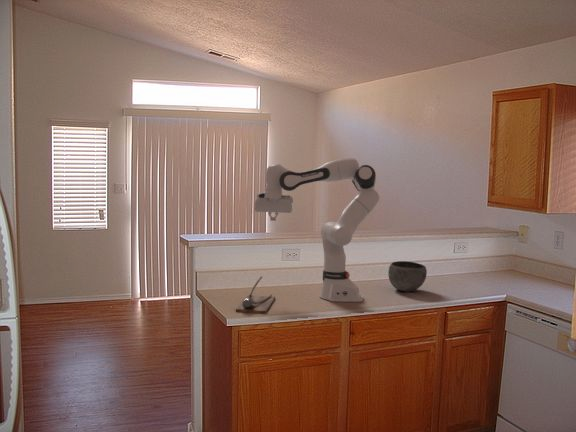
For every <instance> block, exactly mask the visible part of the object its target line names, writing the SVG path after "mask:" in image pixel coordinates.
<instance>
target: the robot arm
mask: <svg viewBox="0 0 576 432" xmlns="http://www.w3.org/2000/svg"><path fill="white" fill-rule="evenodd" d="M265 171H266V172H265V185H266V187H265V191H262V192H259V193H258V194H256V197H257V198H256V199H255V203H254V209H253V210H254V211H255V212H256V213H258V212H259V213H267V214H268V216H269V220H270V222H274V221H276V222H277V217H278V215H279V213H280V214H281V213H283V214H287V213H288V214H289V213H292V212H293V203H294V198H293V196H291V195H288V194H287V195H285V194H283V190H285V191H287V192H292V191H294V190H295V189H297V188H299V187H300V186H302V185H306V184H309V183H311V184H312V183H314V182H315V183H316V182H337V181H343V180H351V182H352V185H354V188H355V189H356V190H357V191H358V194H356V196H355V197H354V198H353V199H352V200H351V201H350V202H349V203H348V204H347V205H346V206H345V207H344V209H343V210H342V213H341V215H340V217H339V218H338V220H337V221H327V222H325V223H324V224H323V225H322V226H321V228H320V235H321V238H322V247H323V248H322V249H323V258H324V259H323V260H324V261H323V270H322V287H321V291H320V293H319V297H320V298H321V299H324V300H327V301H329V302H345V303H346V302H347V303H351V302H352V303H360V302H363V301H364V296H363V295H362V294H361V293H360V289H359V286H358V284H356V283H355V282H354V281H352V279H350V272H349V271H347V270H346V259H347V258H346V257H347V256H346V252H345V248H344V246H347V245H349V244H350V242H352V239H353V235H354V233H355V232H356V230H357V229H358V227H359V225H360V224H361V223H363V221H364V220H365V219H366V218H367V216H369V214H370V213H371V212H372V211H373V210H374V208H375V207H376V206H377V204H378V202H379V200H380V195H379V193H378V191H376V189H375V185H376V181H377V177H376V176H377V175H376V170H375V168H373V166H371V165H370V164H369V165H368V164H363V165H360V163H359V162H358V160H357V159H355V158H352V157H348V158H338V159H334V160H331V161H328V162H326V163H323V164H322V165H320V166H319V167H316V168H314V169H310V170H305V171H301V172H296V171H293V170H290V169H288V168H286V167H285V166H283V165H282V164H280V163H279V164H273V165H269V166H268V167H267V168H266V170H265ZM273 213H274V215H275V216H273V215H272V214H273Z"/></svg>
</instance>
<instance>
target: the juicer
mask: <svg viewBox="0 0 576 432" xmlns="http://www.w3.org/2000/svg"><path fill="white" fill-rule="evenodd" d="M262 279H263V276H260V277H259V278H258V280H257V281H256V282H255V283H254V286H253V287H252V289H251V291H250V293H249V296H248V295H247V296H248V297H247V296H246V297H247V298H246V297H245V298H244V299H243V300H242V302H241V303H242V306H243V307H244V308H245V309H249V308H251V307H252V305H253V303H254V304H255V305H256V304H259V303H262V302H264V301H266V300H267V299H269V298H270V297H273V294H270V295H268V297H267V298H265V299H264V300H261V301H259V302H255V301H254V299H253V297H252V295H253V292H254V290H255V289H256V287H257V285H258V284H259V283H260V281H261V280H262Z"/></svg>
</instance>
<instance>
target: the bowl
mask: <svg viewBox="0 0 576 432" xmlns="http://www.w3.org/2000/svg"><path fill="white" fill-rule="evenodd" d="M427 273H428V272H427V267H426V266H425V265H423V264H421V263H417V262H414V261H406V260H405V261H403V260H400V261H393V262H391V263H390V265H389V267H388V280H389V282H390V284H391V286H392V287H394V289H396V290H397V291H400V292H405V293H406V292H409V293H410V292H413V291H416V290H418V289H419V288H420V287H422V285H423V284H424V283H425V281H426V278H427Z"/></svg>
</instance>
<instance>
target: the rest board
mask: <svg viewBox="0 0 576 432" xmlns="http://www.w3.org/2000/svg"><path fill="white" fill-rule="evenodd" d="M249 295H250V294H249ZM249 295H247V296H246V297H245V298H247V297H248V296H249ZM268 296H269V295H268ZM268 296H267V295H254V294H252V297H253V299H254V301H255V302H259V301H261V300H264V299H265V298H267V297H268ZM275 300H276V296H271V297H270V298H269V299H267V300H266V301H264V302H262V303H259V304H256V305H255V304H254V303H253V305H252V307H251V308H249V309H245V308H244V307H243V306H242V302H241V303H240V304H239V305H238V306H237V307H236V308H235V312H238V313H250V314H267V312H268V310H269V309H270V308H271V306H272V305H273V303H274V302H275Z"/></svg>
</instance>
